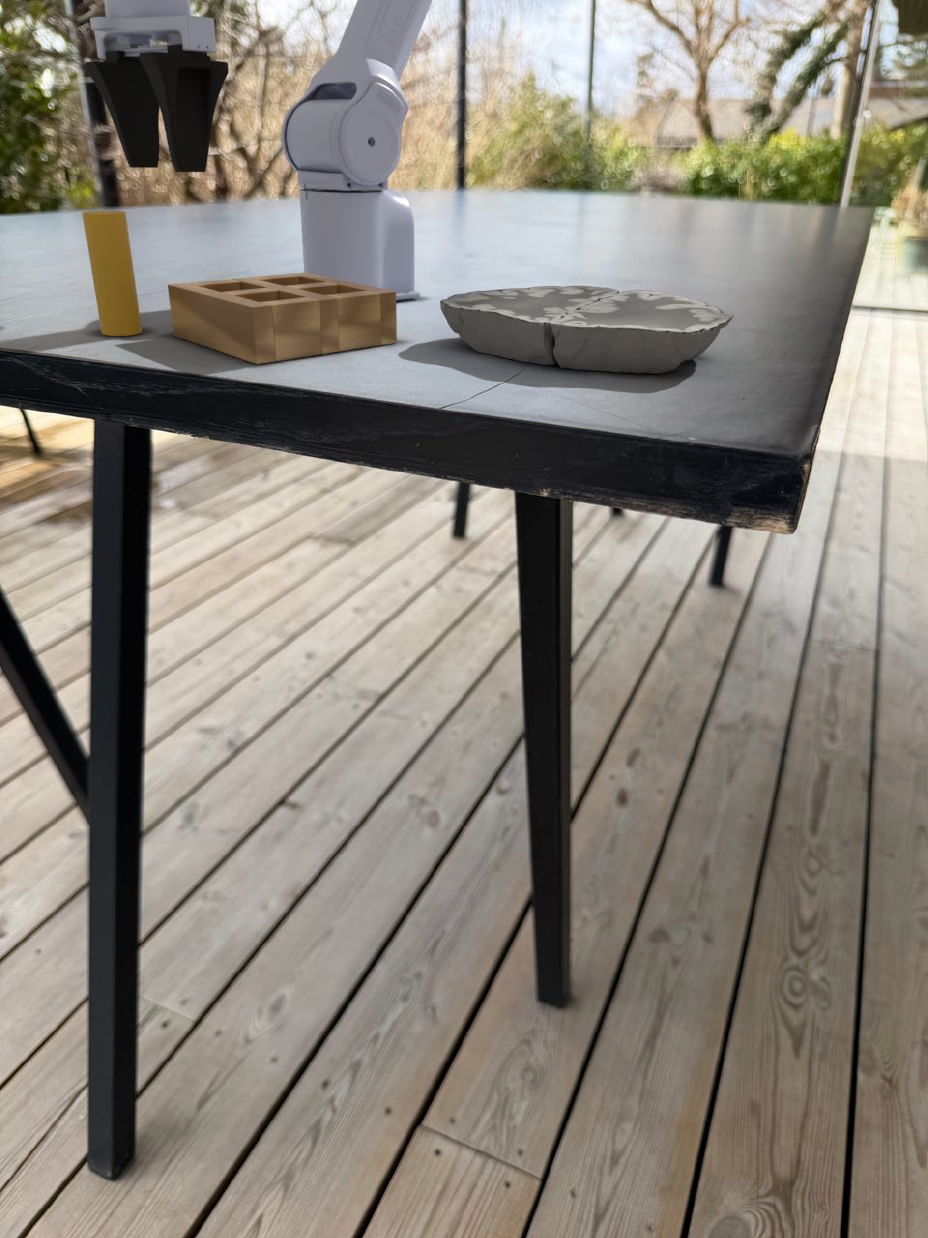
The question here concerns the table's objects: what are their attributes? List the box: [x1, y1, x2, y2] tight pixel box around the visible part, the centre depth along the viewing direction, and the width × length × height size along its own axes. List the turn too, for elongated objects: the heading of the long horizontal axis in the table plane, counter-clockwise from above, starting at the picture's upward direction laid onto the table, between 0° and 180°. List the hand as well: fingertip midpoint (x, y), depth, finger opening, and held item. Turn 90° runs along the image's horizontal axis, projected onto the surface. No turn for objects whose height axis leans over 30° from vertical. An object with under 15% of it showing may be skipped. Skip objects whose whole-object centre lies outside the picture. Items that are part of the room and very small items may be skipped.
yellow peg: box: [81, 210, 143, 337], centre depth 64 cm, size 3×3×8 cm
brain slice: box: [439, 285, 735, 375], centre depth 64 cm, size 20×17×3 cm
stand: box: [167, 272, 398, 365], centre depth 64 cm, size 11×11×4 cm
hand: (166, 169), depth 68 cm, fingers open, 7 cm apart
